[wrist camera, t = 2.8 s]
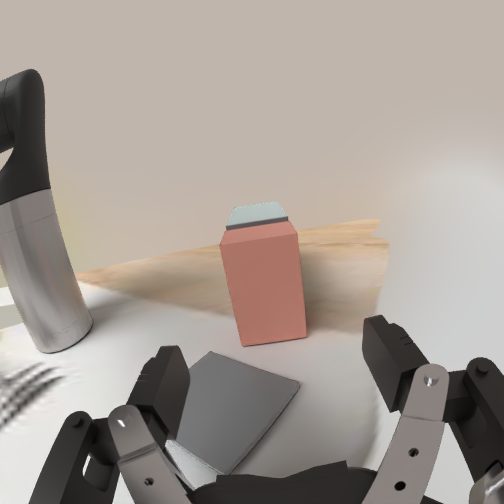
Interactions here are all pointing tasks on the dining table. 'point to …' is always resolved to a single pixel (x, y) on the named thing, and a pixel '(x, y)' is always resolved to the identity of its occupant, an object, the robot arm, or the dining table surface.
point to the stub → (265, 282)
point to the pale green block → (256, 215)
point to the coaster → (229, 410)
